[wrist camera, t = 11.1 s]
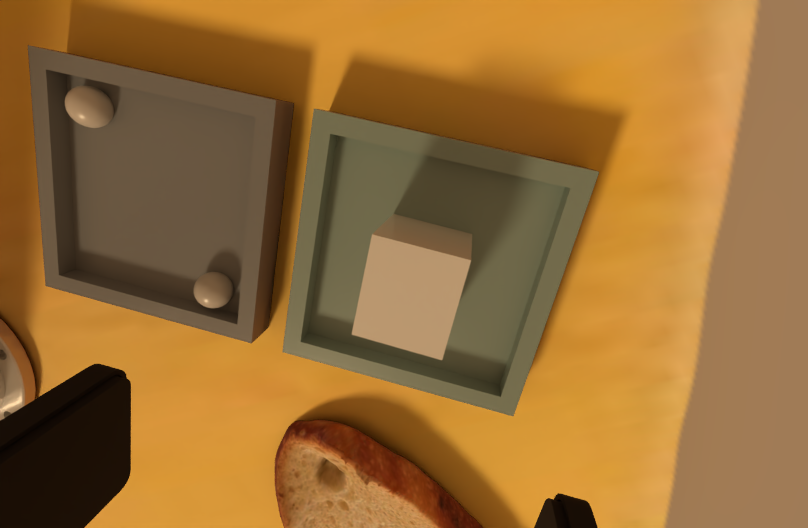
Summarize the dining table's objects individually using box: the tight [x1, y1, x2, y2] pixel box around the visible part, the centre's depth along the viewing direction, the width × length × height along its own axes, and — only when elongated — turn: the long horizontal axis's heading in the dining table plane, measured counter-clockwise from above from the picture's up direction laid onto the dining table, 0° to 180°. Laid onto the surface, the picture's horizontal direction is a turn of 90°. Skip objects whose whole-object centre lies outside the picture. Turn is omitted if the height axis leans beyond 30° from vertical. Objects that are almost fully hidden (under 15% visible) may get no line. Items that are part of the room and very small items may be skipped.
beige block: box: [352, 214, 472, 360], centre depth 21 cm, size 5×4×5 cm
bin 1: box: [28, 45, 294, 343], centre depth 25 cm, size 14×14×3 cm
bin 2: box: [283, 109, 599, 416], centre depth 24 cm, size 14×14×2 cm
